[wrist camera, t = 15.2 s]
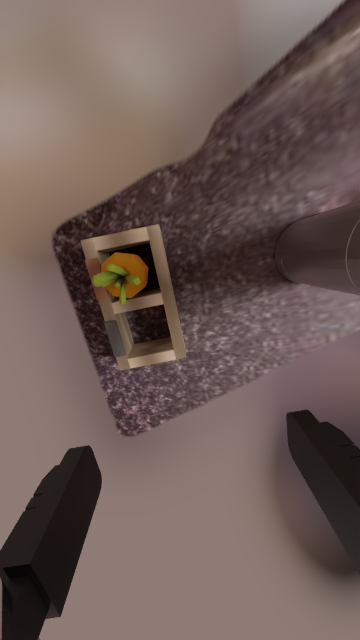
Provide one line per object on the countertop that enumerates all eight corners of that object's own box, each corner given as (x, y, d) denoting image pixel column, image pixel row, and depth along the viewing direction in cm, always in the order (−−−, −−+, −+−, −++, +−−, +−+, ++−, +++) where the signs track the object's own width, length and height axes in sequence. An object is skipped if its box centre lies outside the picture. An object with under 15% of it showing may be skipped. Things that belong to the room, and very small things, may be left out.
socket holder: (160, 229, 32) (158, 223, 26) (184, 342, 37) (186, 358, 31) (95, 243, 32) (78, 240, 26) (127, 354, 37) (119, 372, 31)
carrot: (159, 263, 33) (151, 269, 19) (144, 292, 34) (125, 319, 20) (129, 246, 32) (95, 238, 18) (115, 276, 33) (72, 292, 19)
